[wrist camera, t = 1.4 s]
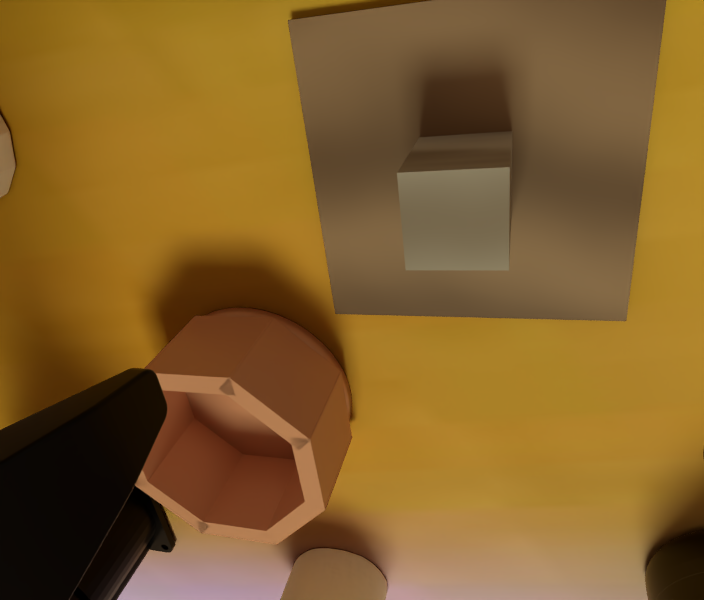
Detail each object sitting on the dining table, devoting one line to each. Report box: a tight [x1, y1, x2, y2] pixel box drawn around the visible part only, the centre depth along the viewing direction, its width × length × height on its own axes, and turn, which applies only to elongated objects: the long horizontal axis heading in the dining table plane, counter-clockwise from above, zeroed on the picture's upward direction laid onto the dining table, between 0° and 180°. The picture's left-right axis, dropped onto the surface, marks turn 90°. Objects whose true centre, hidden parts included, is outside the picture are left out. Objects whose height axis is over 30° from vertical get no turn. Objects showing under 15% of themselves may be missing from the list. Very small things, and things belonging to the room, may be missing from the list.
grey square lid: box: [288, 0, 666, 321], centre depth 18 cm, size 11×11×5 cm
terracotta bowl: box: [135, 308, 352, 545], centre depth 25 cm, size 9×9×5 cm
